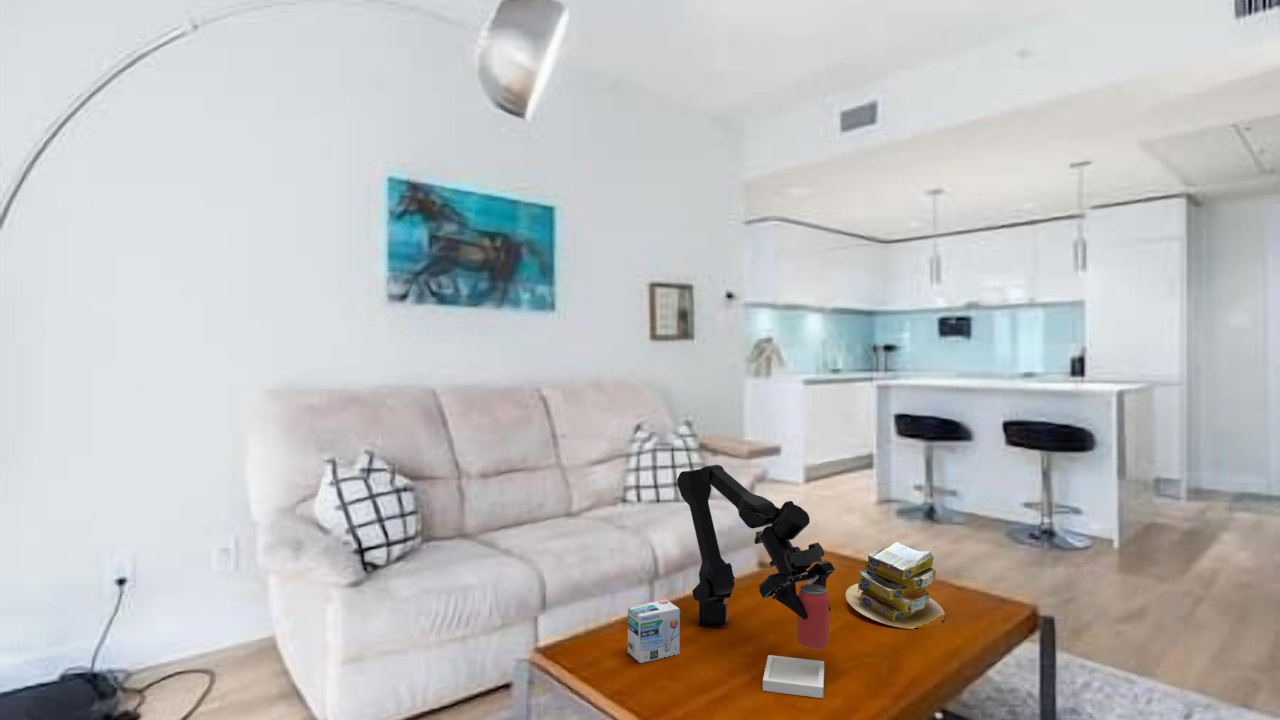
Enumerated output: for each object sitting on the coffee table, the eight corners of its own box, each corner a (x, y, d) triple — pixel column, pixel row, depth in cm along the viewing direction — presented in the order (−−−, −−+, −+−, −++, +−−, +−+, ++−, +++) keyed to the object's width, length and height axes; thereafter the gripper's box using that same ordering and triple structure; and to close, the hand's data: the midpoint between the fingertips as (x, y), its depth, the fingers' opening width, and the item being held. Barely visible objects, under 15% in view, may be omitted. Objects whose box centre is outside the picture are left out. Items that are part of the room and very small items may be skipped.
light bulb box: (639, 664, 156) (639, 616, 156) (626, 652, 162) (626, 606, 162) (681, 654, 161) (681, 607, 161) (666, 643, 167) (666, 598, 167)
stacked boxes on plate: (966, 620, 180) (966, 555, 180) (892, 636, 170) (892, 568, 170) (895, 589, 203) (896, 532, 202) (826, 602, 193) (826, 542, 192)
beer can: (825, 652, 146) (826, 596, 146) (794, 646, 149) (794, 591, 149) (831, 640, 152) (831, 585, 152) (800, 634, 155) (801, 581, 155)
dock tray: (762, 690, 144) (762, 680, 144) (768, 664, 155) (768, 654, 155) (823, 698, 141) (823, 687, 140) (824, 671, 152) (824, 661, 152)
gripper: (768, 538, 148) (807, 606, 139) (829, 525, 158) (868, 588, 150) (743, 565, 155) (778, 631, 146) (802, 550, 165) (839, 612, 156)
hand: (817, 615), depth 149 cm, fingers closed on beer can, 7 cm apart
